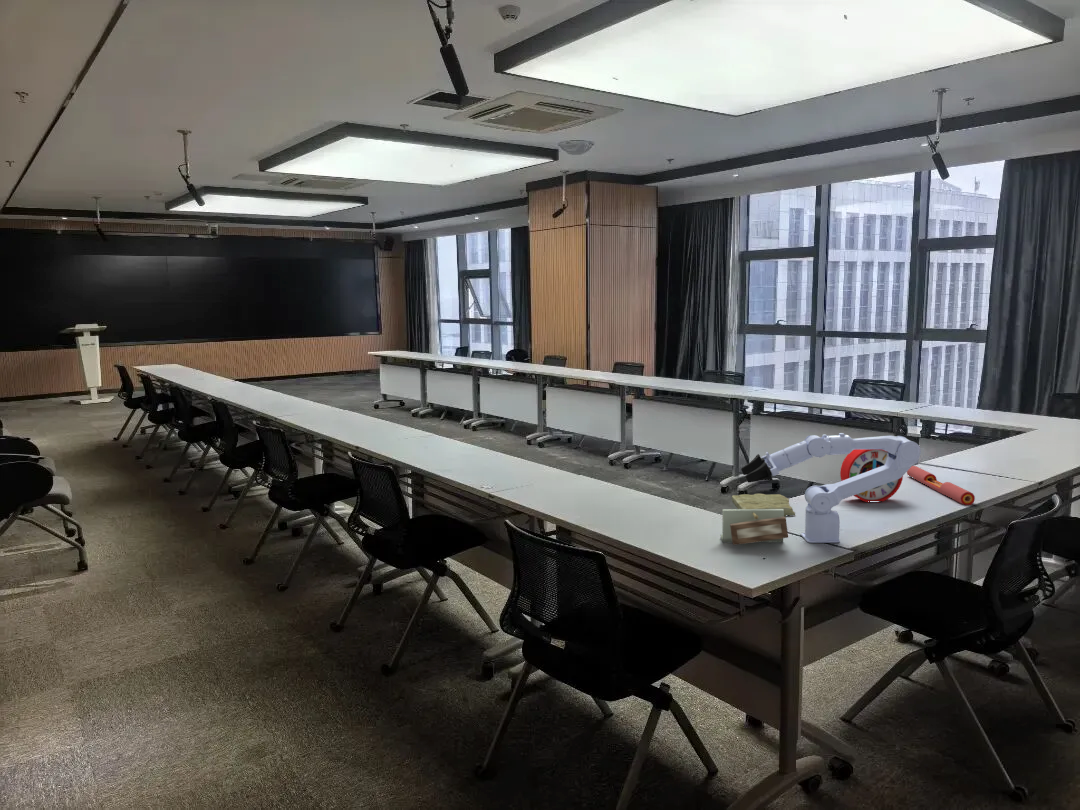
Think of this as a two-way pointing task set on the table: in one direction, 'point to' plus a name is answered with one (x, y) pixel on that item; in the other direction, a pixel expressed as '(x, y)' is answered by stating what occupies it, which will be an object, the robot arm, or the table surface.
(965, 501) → the blood vessel
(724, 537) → the curved green slab
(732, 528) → the picture frame
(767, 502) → the decorative tile
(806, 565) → the table surface
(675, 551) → the table surface
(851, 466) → the toy clock
